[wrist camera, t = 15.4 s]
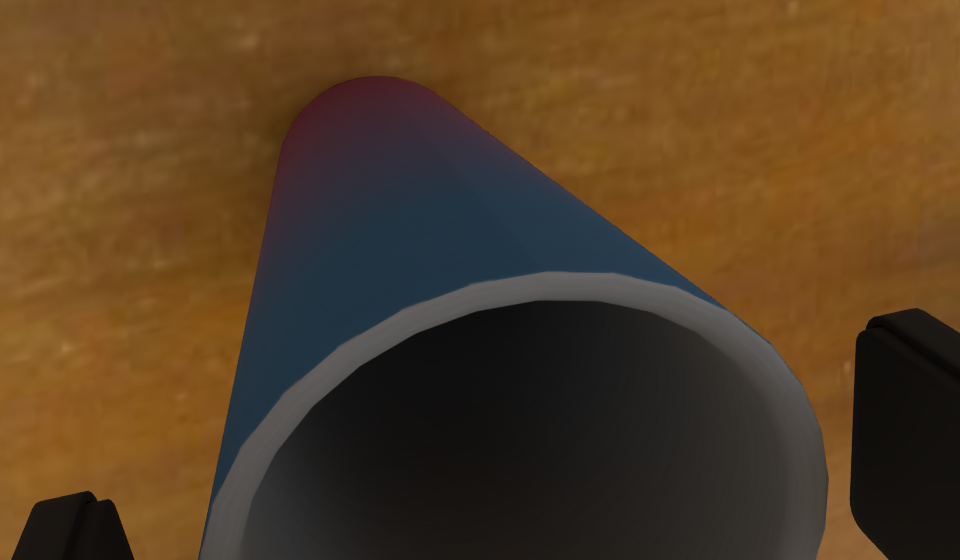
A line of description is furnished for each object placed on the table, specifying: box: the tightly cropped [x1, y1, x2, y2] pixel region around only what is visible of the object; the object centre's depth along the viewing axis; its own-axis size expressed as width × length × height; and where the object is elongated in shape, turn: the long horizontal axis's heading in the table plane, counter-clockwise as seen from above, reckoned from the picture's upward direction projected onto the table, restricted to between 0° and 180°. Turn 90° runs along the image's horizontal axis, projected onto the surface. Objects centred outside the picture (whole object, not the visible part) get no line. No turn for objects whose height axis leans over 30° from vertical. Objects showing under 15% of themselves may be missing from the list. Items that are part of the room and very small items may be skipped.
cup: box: [198, 76, 829, 560], centre depth 16 cm, size 7×7×15 cm
